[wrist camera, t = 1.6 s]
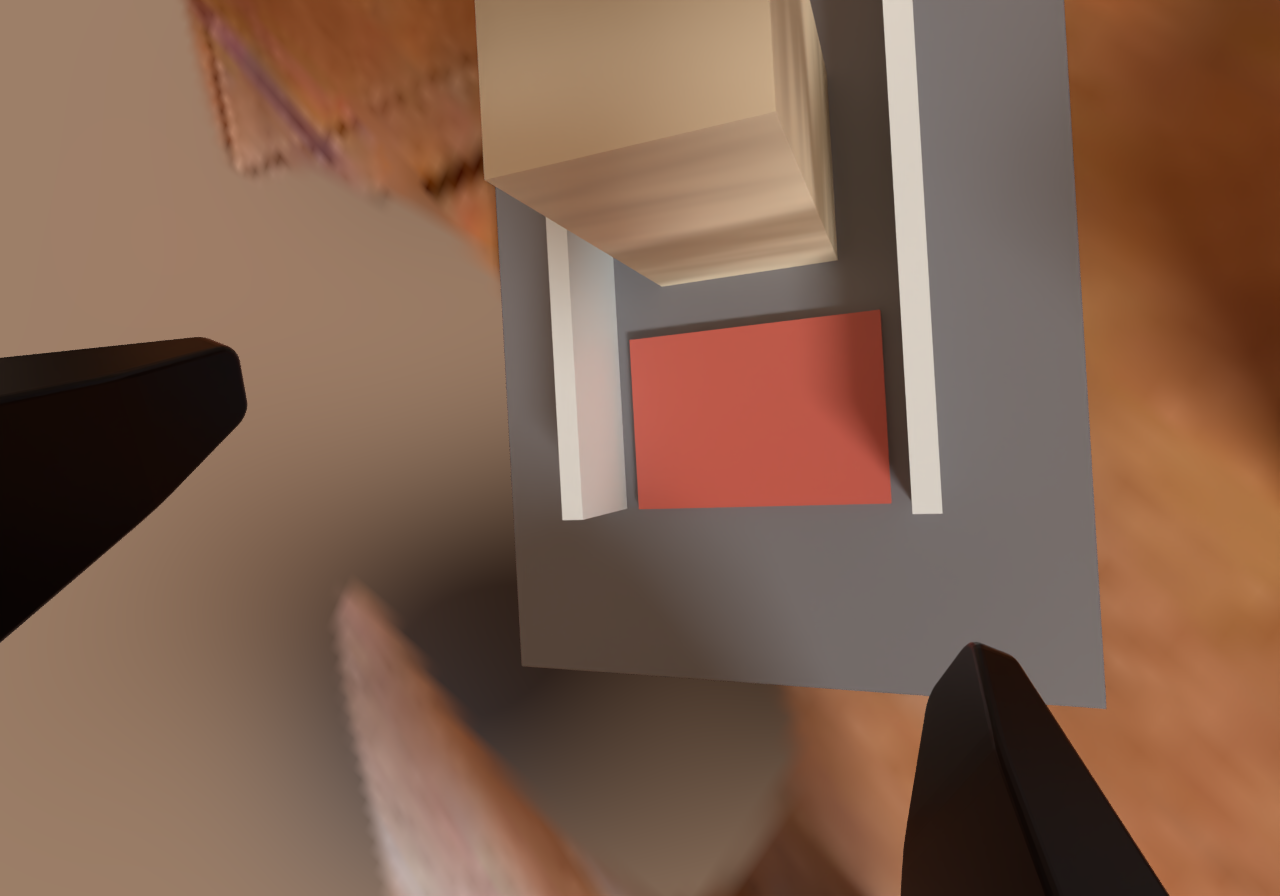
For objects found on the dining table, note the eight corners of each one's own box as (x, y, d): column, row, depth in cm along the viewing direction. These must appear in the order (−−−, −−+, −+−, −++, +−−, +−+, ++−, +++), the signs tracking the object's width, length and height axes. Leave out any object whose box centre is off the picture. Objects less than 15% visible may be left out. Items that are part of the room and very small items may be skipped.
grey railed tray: (1097, 696, 17) (1146, 765, 13) (534, 658, 23) (465, 699, 19) (1035, -346, 17) (1067, -549, 14) (491, -117, 23) (415, -217, 19)
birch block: (837, 260, 18) (775, 111, 10) (662, 286, 20) (483, 179, 12) (826, 73, 18) (756, -232, 10) (652, 117, 20) (468, -109, 12)
